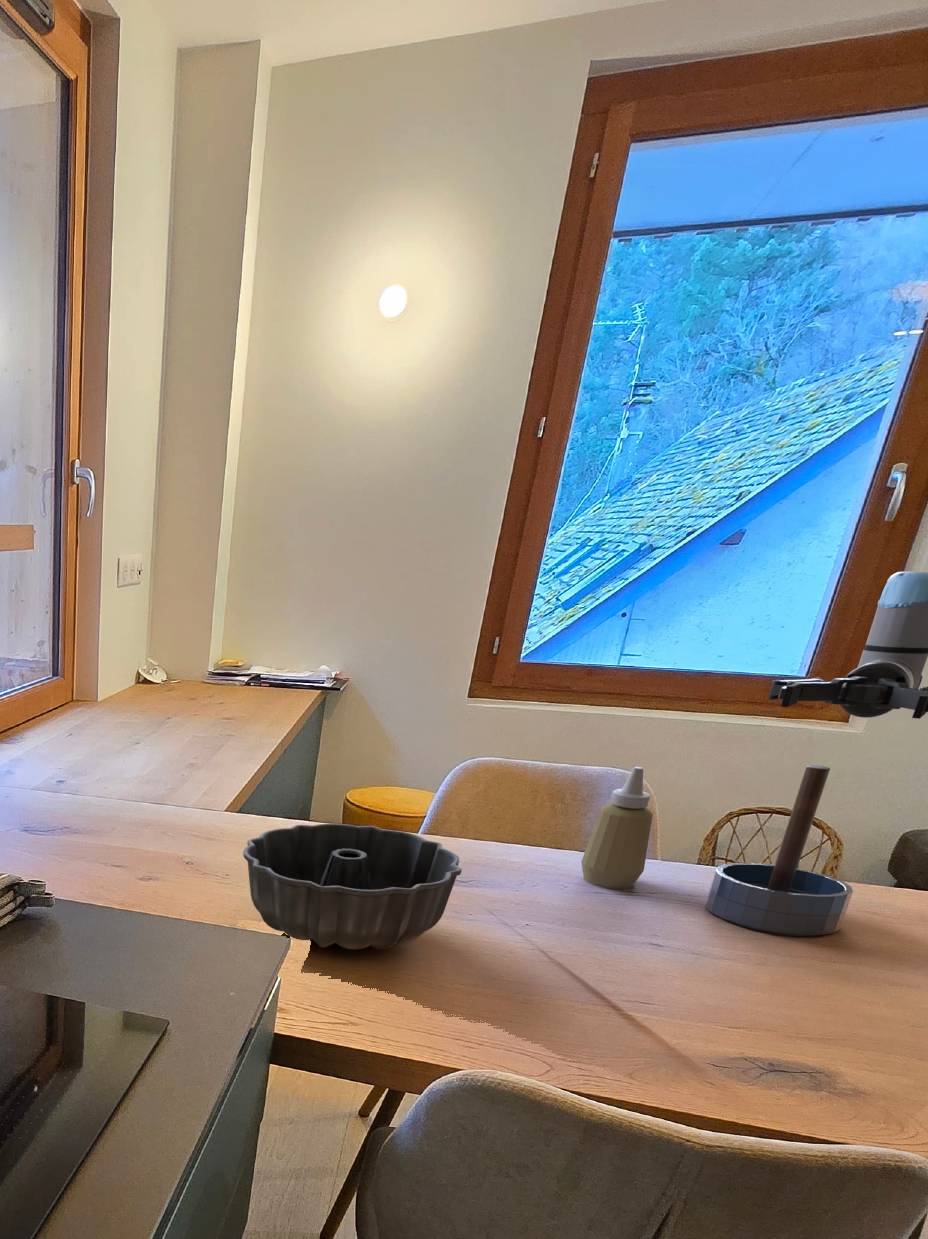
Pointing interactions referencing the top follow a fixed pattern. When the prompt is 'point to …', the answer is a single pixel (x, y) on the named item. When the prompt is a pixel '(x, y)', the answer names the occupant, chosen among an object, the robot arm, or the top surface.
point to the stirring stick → (798, 827)
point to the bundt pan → (349, 883)
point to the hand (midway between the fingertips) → (851, 701)
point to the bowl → (778, 900)
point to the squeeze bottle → (620, 837)
